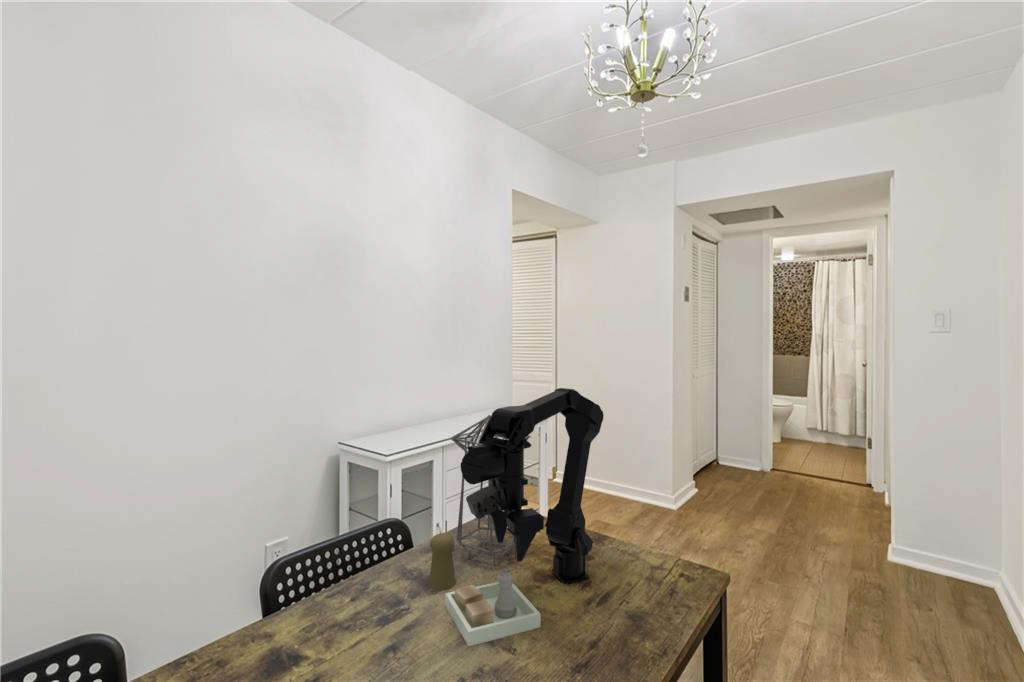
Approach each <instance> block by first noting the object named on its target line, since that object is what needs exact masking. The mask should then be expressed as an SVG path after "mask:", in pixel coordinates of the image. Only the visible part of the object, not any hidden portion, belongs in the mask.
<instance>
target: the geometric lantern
mask: <svg viewBox="0 0 1024 682" xmlns="http://www.w3.org/2000/svg"><path fill="white" fill-rule="evenodd" d="M491 417H492V414H491V415H490V414H488V415H487V416H486V417H484V418H482V419H481V420H479V421H478V422H475V423H474V424H472V425H470V426H469V427H467V428H465V429H464V430H462V431H460V432H458V433H457V434H454V435H452V437H450V440H451V441H452V442H454V443H455V444H456V445H457V446H458V447H459V448H460V449H461V450H462V451H463V452H464V455H465V454H467V453H468V447H469V446H470V445H471V446H473V445H475V446H478V445H482V444H480V443H479V441H480V439H481V437H482V435H483V433H484V431H485V429H486V427H487V425H488V423H489V420H490V418H491ZM473 428H474V429H473ZM470 430H471V431H470ZM468 431H470V432H469V433H468V434H467V435H466V436H462V435H464V434H465V433H467V432H468ZM480 433H481V434H480ZM494 437H495V438H499V437H496V436H494ZM530 438H532V436H531V435H530V434H529V435H528V436H527V437H526V438H525V439H526V440H527V441H528V440H529V439H530ZM468 439H470V440H468ZM502 439H504V440H508V439H506V438H502ZM463 443H464V444H463ZM487 482H488V486H489V485H490V480H487ZM483 484H484V483H483V482H481V483H480V489H482V488H484V487H483ZM464 489H465V479H464V477H463V475H462V474H461V489H460V497H459V499H460V501H459V510H458V511H459V512H458V521H457V532H456V533H457V534H456V542H457V544H458V545H460V546H461V547H462V549H464V550H465V551H467V553H468V559H467V560H469V561H472V559H473V558H475V557H476V556H480V557H483V558H488V559H492V560H493V566H494V567H495V566H496V560H497V565H498V566H501V565H500V564H501V563H500V561H501V560H500V559H501V557H502V556H503V555H505V554H506V555H508V558H511V557H512V549H513V548H515V547H514V539H513V540H512V541H511V543H510V544H508V545H507V544H504V541H503V542H501V543H498V542H493V531H494V527H493V523H492V520H491V517H490V515H489V514H488V515H487V527H481V518H480V519H478V520H477V521H478V522H477V528H476V529H473V530H472V531H470V532H468V533H467V534H464V535H463V513H464ZM480 489H479V490H480ZM481 530H482V531H483V530H487V531H486V537H485V541H484V540H483V536H482V533H481ZM477 532H478V533H479V537H480V542H479V543H478V544H476V545H474V546H473V545H470V544H466V543H463V542H462V540H464V539H465V538H467V537H469V536H471V535H473V534H474V533H477ZM494 532H495V531H494ZM505 534H508V535H512V534H511V533H510V532H509V531H508V530H506V533H505ZM488 537H489V541H488ZM483 544H484V548H483ZM488 544H489V548H488V547H487V545H488ZM493 545H494V546H495V545H497V546H500V549H493ZM479 546H480V547H479ZM468 548H470V550H469V549H468ZM475 550H476V551H477V552H472V551H475ZM480 552H483V553H487V554H491V556H489V555H486V554H481V553H480ZM494 554H499V555H498V556H497V557H496V556H495V555H494Z"/></svg>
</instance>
